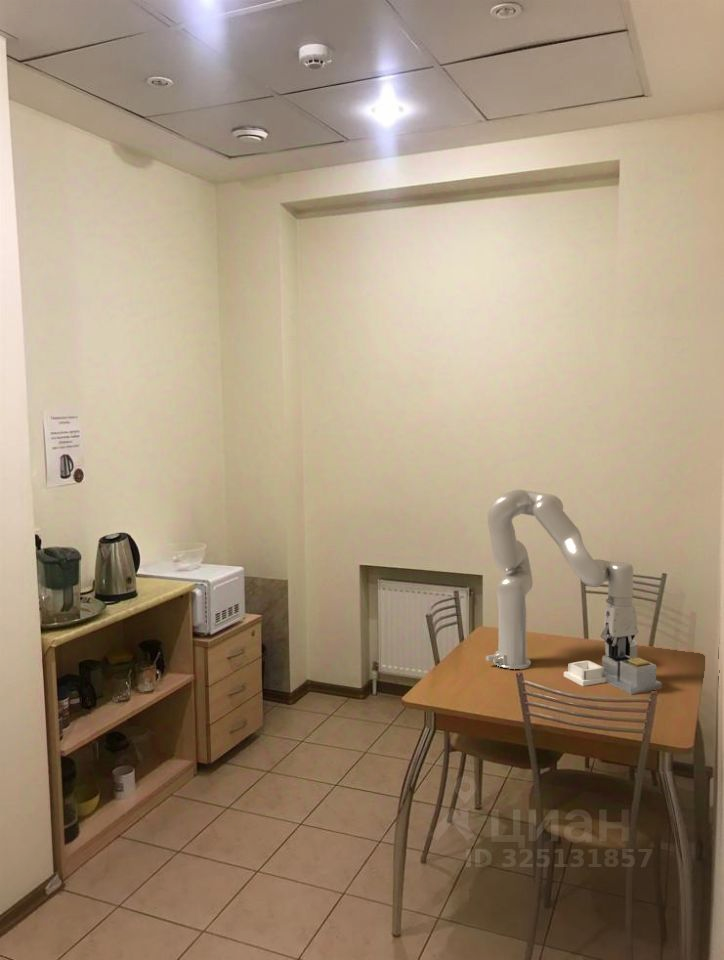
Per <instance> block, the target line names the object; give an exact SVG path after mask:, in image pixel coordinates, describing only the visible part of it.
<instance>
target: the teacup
mask: <svg viewBox="0 0 724 960" xmlns="http://www.w3.org/2000/svg"><path fill="white" fill-rule="evenodd" d="M612 639H613V638H612ZM638 645H639V644H638V641H637V640H635V639H634V638H633V640H632V643H631V644H630V656H629V657H631V658H638ZM604 652H605V655H609V644H607V642H606V641H605V640H604Z"/></svg>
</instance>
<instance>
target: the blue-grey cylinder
mask: <svg viewBox="0 0 724 960" xmlns="http://www.w3.org/2000/svg"><path fill="white" fill-rule="evenodd" d="M615 646H617V657H616V658H613V659H614V660H616V661H623V660H626V637H619V638H617V640H616V644H615Z"/></svg>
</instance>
